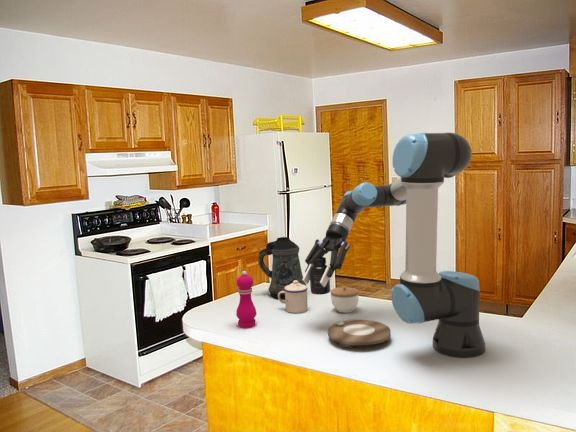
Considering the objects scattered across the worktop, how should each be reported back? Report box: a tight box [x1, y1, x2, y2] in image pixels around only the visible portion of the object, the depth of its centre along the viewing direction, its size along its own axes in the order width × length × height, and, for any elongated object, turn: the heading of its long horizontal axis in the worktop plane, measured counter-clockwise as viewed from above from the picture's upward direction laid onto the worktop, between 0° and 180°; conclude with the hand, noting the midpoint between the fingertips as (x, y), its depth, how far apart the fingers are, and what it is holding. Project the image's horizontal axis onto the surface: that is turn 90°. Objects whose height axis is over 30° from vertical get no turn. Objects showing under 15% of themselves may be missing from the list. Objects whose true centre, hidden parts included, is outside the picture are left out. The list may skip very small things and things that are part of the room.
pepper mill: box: [235, 270, 257, 329], centre depth 177 cm, size 7×7×20 cm
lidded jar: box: [330, 285, 360, 314], centre depth 190 cm, size 11×11×9 cm
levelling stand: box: [327, 319, 391, 350], centre depth 161 cm, size 20×20×4 cm
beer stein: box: [257, 236, 307, 301], centre depth 213 cm, size 16×19×25 cm
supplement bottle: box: [309, 256, 331, 296], centre depth 170 cm, size 7×7×12 cm
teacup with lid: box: [277, 280, 309, 314], centre depth 193 cm, size 12×9×12 cm
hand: (313, 283), depth 167 cm, fingers closed on supplement bottle, 7 cm apart
